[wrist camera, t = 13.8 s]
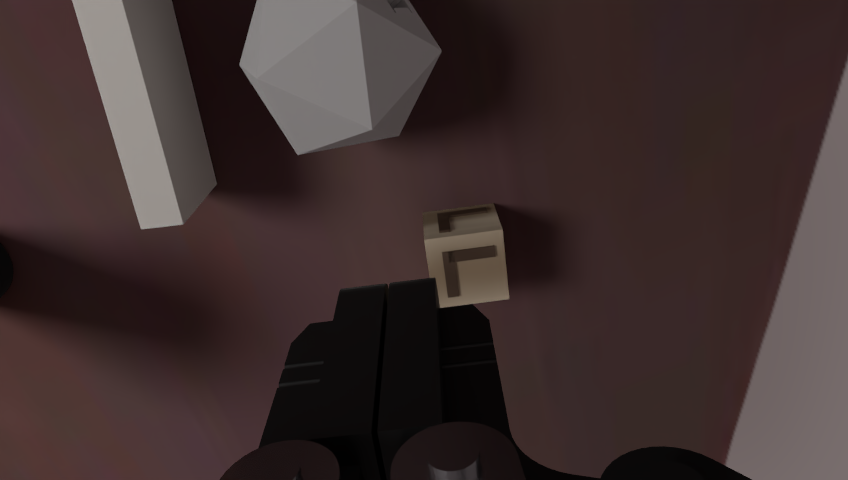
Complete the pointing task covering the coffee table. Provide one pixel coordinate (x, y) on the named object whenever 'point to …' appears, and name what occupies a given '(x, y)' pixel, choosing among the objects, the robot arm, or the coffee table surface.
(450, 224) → the letter block
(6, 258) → the drinking cup
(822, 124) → the coffee table surface
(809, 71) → the coffee table surface
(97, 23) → the rail
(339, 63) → the die
